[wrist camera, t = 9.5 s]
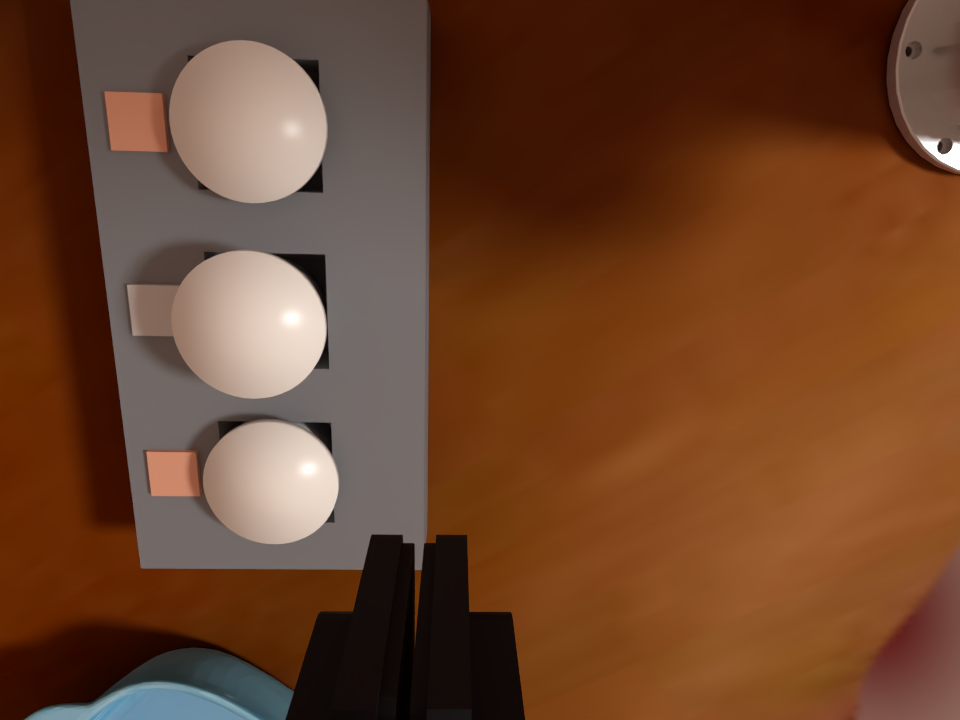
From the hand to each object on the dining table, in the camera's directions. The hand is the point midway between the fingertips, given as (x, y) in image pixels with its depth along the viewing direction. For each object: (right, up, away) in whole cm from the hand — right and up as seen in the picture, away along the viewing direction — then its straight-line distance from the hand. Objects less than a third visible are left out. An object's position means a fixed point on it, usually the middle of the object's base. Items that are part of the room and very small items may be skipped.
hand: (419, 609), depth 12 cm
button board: (-10, +8, +28) cm, 30 cm away
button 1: (-10, +16, +24) cm, 31 cm away
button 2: (-10, -1, +29) cm, 31 cm away
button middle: (-10, +7, +25) cm, 28 cm away
